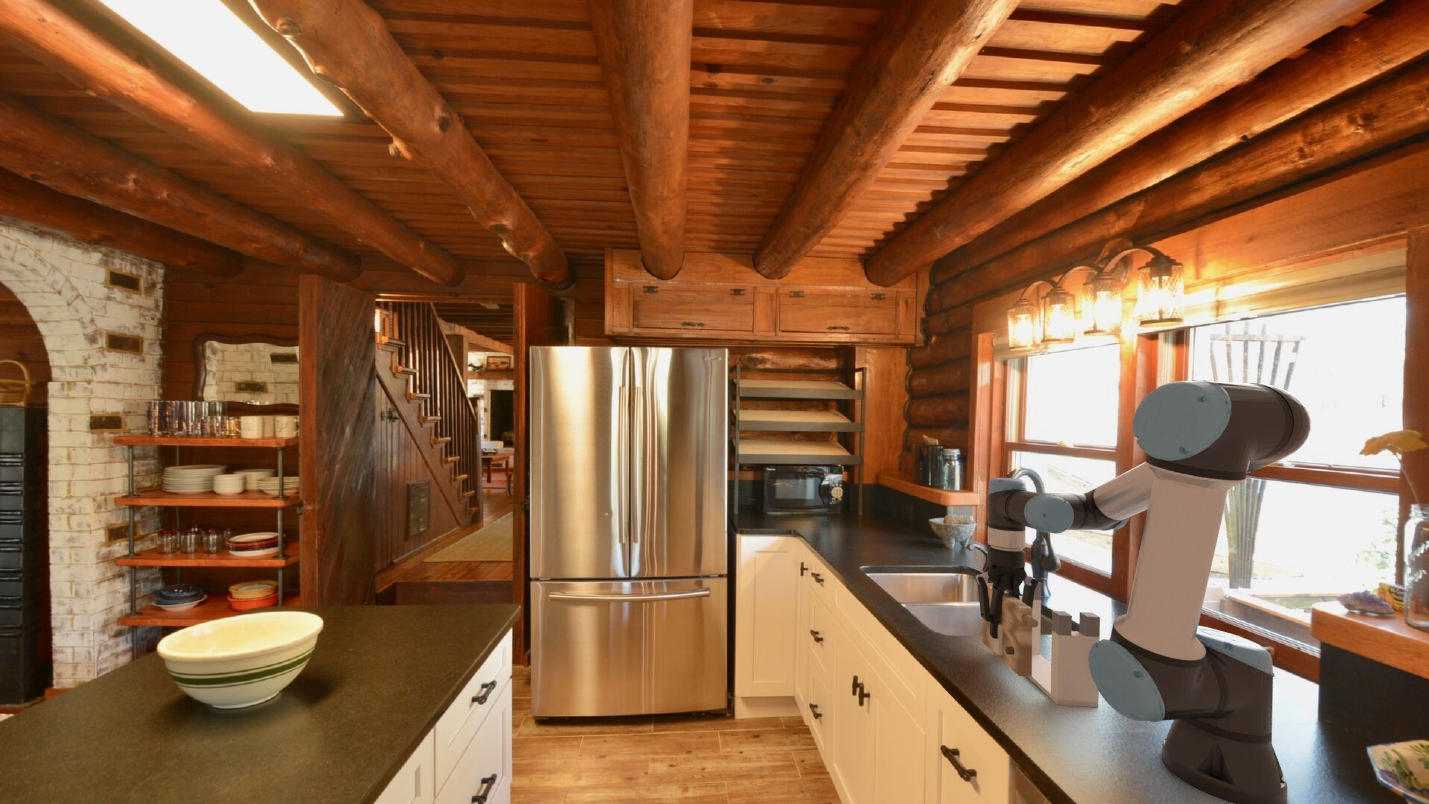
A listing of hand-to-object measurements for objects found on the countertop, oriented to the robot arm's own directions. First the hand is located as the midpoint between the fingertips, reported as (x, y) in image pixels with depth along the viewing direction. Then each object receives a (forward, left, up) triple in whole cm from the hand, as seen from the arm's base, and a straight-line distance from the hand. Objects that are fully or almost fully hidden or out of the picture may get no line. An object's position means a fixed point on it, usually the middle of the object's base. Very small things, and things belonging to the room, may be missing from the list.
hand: (1005, 652), depth 124 cm
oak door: (0, 0, -1) cm, 1 cm away
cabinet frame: (0, -9, -5) cm, 10 cm away
